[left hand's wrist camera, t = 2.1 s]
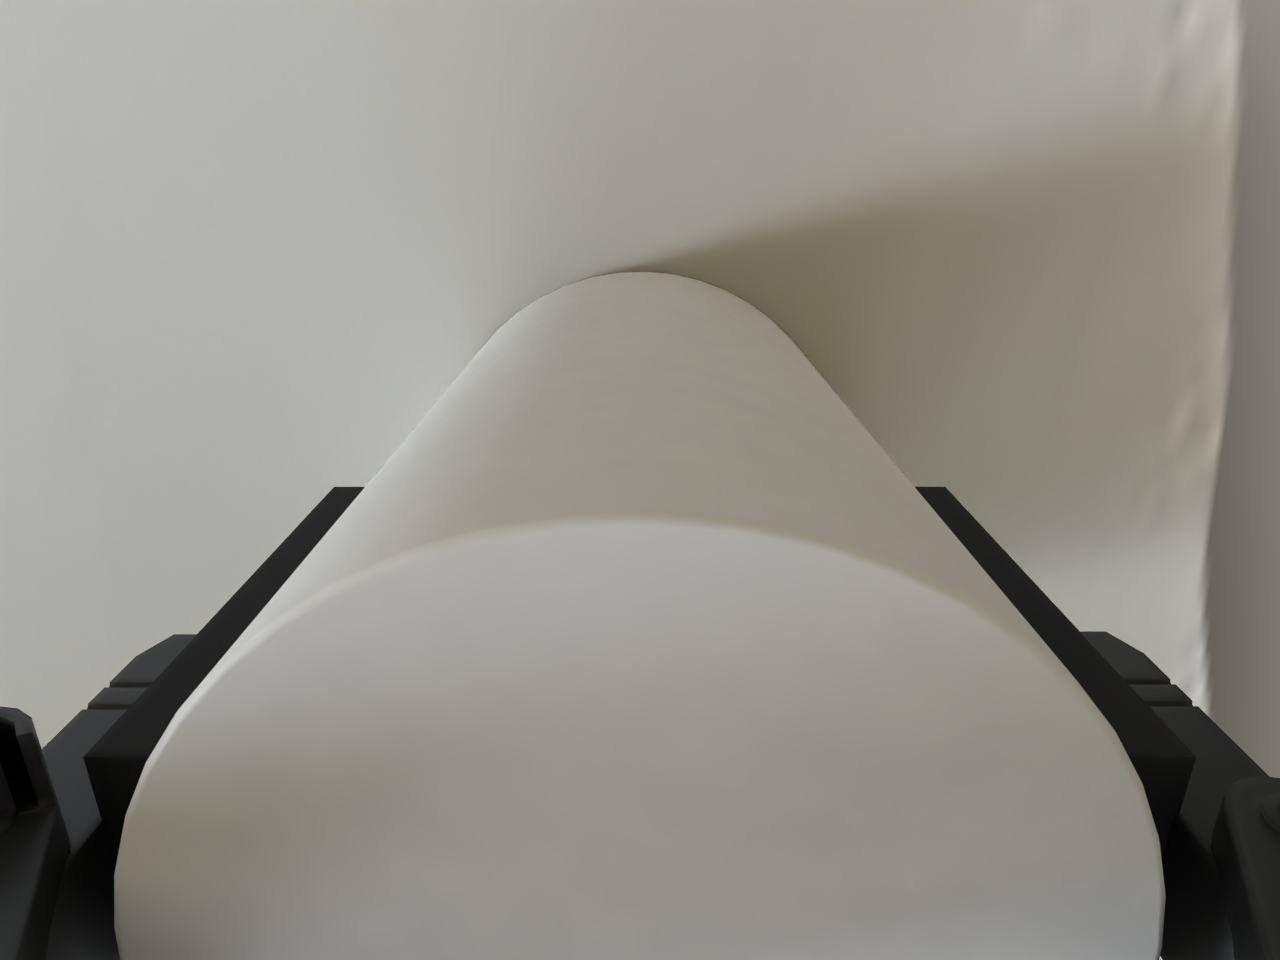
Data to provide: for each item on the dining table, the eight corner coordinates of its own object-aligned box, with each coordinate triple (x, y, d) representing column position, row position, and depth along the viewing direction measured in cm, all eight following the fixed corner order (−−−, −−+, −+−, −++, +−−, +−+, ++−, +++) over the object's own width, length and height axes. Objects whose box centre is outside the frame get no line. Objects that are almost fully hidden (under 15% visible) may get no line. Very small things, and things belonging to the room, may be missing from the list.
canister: (877, 567, 19) (1232, 1177, 8) (539, 679, 20) (407, 1361, 9) (764, 206, 16) (1058, 316, 5) (377, 359, 17) (-129, 744, 6)
